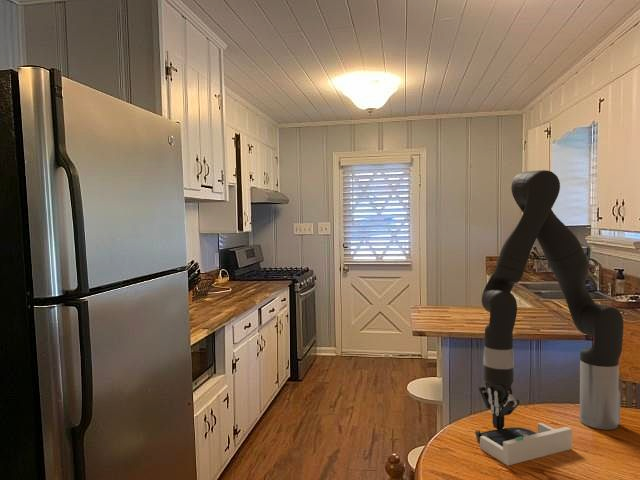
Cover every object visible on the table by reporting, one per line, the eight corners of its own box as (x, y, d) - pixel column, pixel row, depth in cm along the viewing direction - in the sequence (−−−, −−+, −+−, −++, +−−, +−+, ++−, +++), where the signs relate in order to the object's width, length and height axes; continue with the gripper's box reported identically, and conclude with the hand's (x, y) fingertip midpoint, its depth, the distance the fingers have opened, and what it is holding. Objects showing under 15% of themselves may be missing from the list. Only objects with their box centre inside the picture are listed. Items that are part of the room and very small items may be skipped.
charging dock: (541, 433, 126) (541, 413, 126) (571, 448, 118) (571, 427, 117) (479, 448, 118) (479, 426, 118) (507, 465, 110) (507, 442, 110)
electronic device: (499, 463, 114) (550, 446, 118) (494, 440, 115) (546, 424, 118) (477, 451, 123) (526, 435, 127) (473, 429, 124) (521, 415, 127)
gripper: (528, 368, 121) (528, 435, 122) (492, 355, 133) (491, 416, 134) (505, 372, 118) (505, 440, 119) (470, 358, 131) (470, 420, 131)
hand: (498, 427), depth 126 cm, fingers closed
